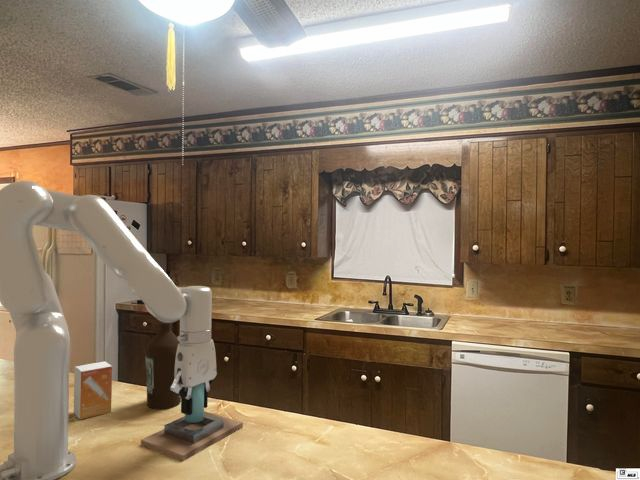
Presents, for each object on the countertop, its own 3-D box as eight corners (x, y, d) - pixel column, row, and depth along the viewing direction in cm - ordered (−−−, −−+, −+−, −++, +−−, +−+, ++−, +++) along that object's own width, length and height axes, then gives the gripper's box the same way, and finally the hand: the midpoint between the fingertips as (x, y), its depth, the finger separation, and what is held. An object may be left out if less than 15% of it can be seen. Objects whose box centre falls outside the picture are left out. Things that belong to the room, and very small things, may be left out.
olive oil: (178, 394, 134) (179, 314, 134) (187, 406, 125) (188, 320, 125) (141, 400, 128) (143, 317, 128) (148, 413, 119) (149, 323, 119)
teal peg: (193, 424, 103) (194, 386, 103) (180, 420, 105) (181, 383, 105) (207, 417, 107) (208, 381, 107) (194, 413, 109) (195, 378, 109)
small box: (79, 420, 114) (80, 371, 114) (73, 413, 118) (73, 366, 118) (112, 412, 119) (112, 365, 119) (104, 405, 124) (105, 360, 124)
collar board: (182, 460, 94) (183, 446, 94) (140, 444, 101) (141, 431, 101) (242, 426, 111) (242, 414, 111) (203, 415, 118) (203, 403, 118)
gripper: (179, 345, 97) (178, 426, 97) (230, 332, 112) (229, 402, 112) (157, 341, 101) (155, 418, 101) (209, 328, 115) (208, 396, 115)
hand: (194, 409), depth 106 cm, fingers closed on teal peg, 4 cm apart
